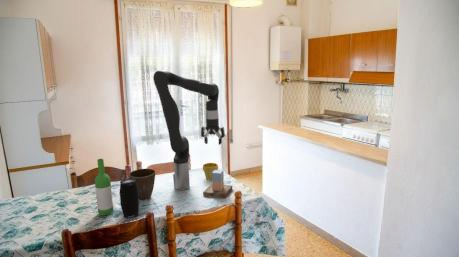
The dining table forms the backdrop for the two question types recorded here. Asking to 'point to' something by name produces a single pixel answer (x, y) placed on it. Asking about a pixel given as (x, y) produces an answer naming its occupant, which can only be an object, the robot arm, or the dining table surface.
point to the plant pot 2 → (209, 169)
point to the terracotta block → (218, 185)
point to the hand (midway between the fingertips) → (213, 144)
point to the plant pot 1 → (144, 182)
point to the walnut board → (216, 193)
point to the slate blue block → (217, 175)
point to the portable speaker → (129, 197)
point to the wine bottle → (103, 190)
